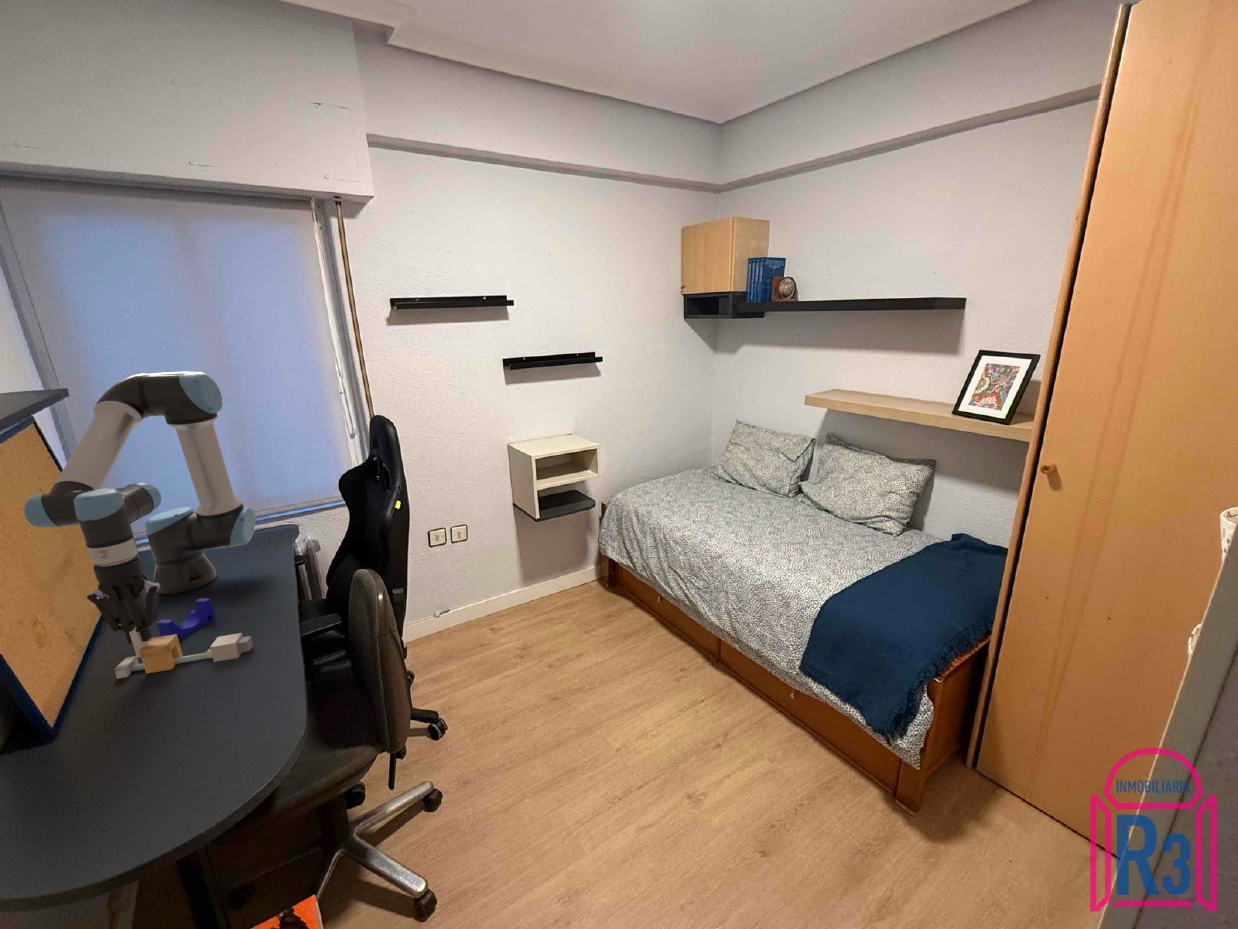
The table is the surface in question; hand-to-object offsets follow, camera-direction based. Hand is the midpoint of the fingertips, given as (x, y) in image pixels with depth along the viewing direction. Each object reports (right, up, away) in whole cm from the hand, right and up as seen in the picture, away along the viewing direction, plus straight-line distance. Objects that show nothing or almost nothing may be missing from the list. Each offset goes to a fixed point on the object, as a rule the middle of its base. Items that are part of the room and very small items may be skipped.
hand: (144, 653), depth 121 cm
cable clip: (-3, 0, +17) cm, 17 cm away
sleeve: (+3, -3, +2) cm, 5 cm away
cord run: (+8, -3, +3) cm, 9 cm away
